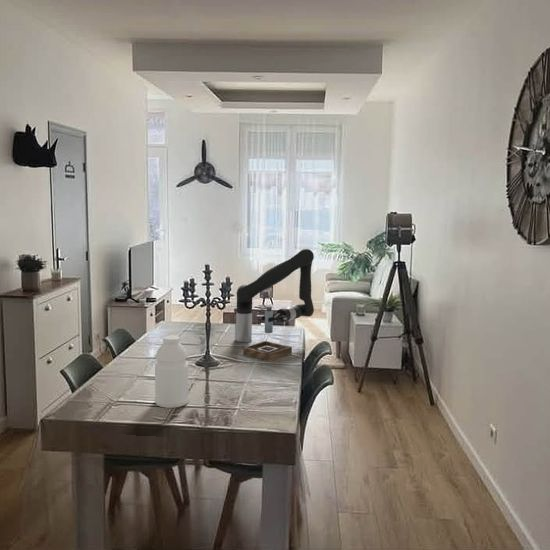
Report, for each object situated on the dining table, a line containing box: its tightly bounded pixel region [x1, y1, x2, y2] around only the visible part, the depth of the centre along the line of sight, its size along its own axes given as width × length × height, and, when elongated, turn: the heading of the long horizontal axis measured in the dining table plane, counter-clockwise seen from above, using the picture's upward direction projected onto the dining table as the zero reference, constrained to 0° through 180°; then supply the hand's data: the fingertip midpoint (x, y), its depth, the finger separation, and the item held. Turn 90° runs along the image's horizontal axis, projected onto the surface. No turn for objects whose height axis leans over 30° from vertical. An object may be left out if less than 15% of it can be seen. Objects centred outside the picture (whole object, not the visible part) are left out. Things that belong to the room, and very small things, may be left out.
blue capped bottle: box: [264, 306, 274, 334], centre depth 296 cm, size 4×4×14 cm
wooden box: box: [242, 340, 293, 362], centre depth 298 cm, size 19×19×4 cm
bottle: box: [154, 334, 190, 409], centre depth 225 cm, size 14×14×28 cm
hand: (265, 319), depth 294 cm, fingers closed on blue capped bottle, 4 cm apart
